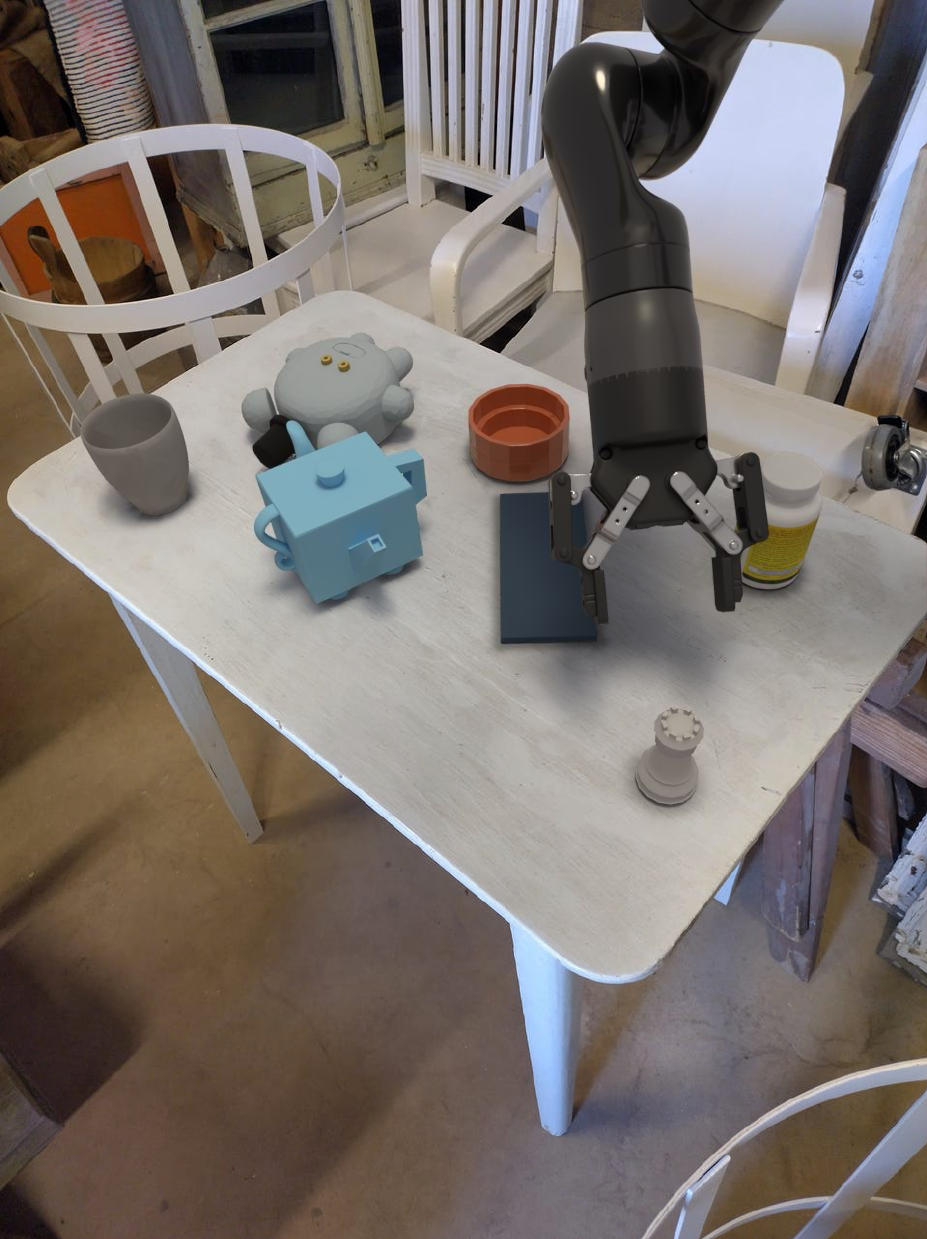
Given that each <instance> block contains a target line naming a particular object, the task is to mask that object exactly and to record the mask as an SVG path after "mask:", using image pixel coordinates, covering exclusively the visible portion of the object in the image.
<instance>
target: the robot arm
mask: <svg viewBox="0 0 927 1239" xmlns="http://www.w3.org/2000/svg"><path fill="white" fill-rule="evenodd" d="M784 1H785V0H640V5H641V11H642V15H643V18H644V21H645V24H646V25H647V27H648V30H649V31H650V33H651V35H652V36H653V37H654V38H655V40H656V41H657V42H658V43H659V44H660V45H661V46H662V47H663V49H662V50H660V52H659V53H655V52H650V51H645V50H640V49H635V48H630V47H626V46H621V45H616V44H610V43H608V42H607V43H606V42H601V41H590V42H589V41H587V42H582V43H579V44H576V45H574V46H572V47H571V48H569V49H568V50H567V51H566V52H565V53H564V54H562V55H561V57H559V59H558V60H557V61H556V63H555V65H554V66H553V68H552V69H551V72H550V74H549V76H548V79H547V82H546V84H545V87H544V91H543V95H542V102H541V110H540V128H541V138H542V143H543V150H544V153H545V157H546V160H547V164H548V167H549V171H550V173H551V176H552V178H553V182H554V184H555V188H556V190H557V193H558V196H559V199H560V201H561V204H562V207H563V209H564V211H565V215H566V219H567V221H568V222H567V223H568V224H569V227H570V230H571V233H572V235H573V237H574V241H575V243H576V245H577V248H578V252H579V259H580V273H581V274H580V275H581V276H580V277H581V288H582V298H583V307H584V308H583V309H584V310H583V311H584V335H583V336H584V337H583V338H584V339H583V352H584V368H583V373H584V380H585V381H586V387H587V399H588V409H589V421H590V422H589V423H590V430H591V431H590V433H591V446H592V457H593V460H592V467H591V469H590V471H589V472H588V473H568V472H567V471H564V470H560V471H557V472H556V473H553V475H551V476H550V477H549V479H548V482H547V484H548V492H549V519H550V551H551V557H552V558H553V559H554V560H555V561H558V562H562V563H566V564H570V565H573V566H575V567H576V568H577V569H578V571H579V574H580V584H581V594H582V606H583V610H584V612H585V614H586V615H587V616H588V617H593V621H594V623H595V624H596V626H602V625H603V626H604V625H608V624H609V610H608V609H609V608H608V598H607V584H606V575H605V569H604V568H601V563H602V561H603V560H604V559H605V557H606V555H607V553H608V552H609V550H610V549H611V548H612V546H613V544H614V543H615V542H616V541H617V539H618V538H619V537H620V535H621V533H622V532H623V531H624V529H627V530H630V531H639V530H648V529H650V528H653V527H654V528H655V527H656V526H657V527H662V528H664V527H665V528H666V527H667V528H668V527H677V526H678V527H679V526H684V524H686V523H687V525H689V526H690V527H691V529H692V530H693V531H694V532H696V533H698V534H699V535H700V536H701V537H702V538H703V539H704V541H705V542H706V543H707V544H708V545H709V546H710V547H711V548H712V550H713V551H714V552H715V553H714V554H715V556H712V557H711V558H710V559H711V560H710V561H711V569H712V570H711V571H712V572H711V573H712V587H713V599H714V608H715V610H716V612H720V613H732V612H735V611H736V603H741V601H742V600H743V599H742V598H743V595H744V590H743V589H744V587H743V582H742V573H741V554H742V552H743V551H744V550H745V549H746V548H748V547H750V546H752V545H754V544H756V543H758V542H764V541H765V540H767V538H768V536H769V527H768V520H767V512H766V504H765V497H764V489H763V481H762V473H761V460H760V457H759V455H758V454H757V453H756V452H753V451H749V452H744V453H740V454H738V455H736V456H734V457H727V458H722V459H715V458H714V457H713V455H712V453H711V450H710V448H709V432H708V418H707V405H706V394H705V393H706V392H705V376H704V364H703V352H702V351H703V350H702V338H701V328H700V323H699V318H698V314H697V309H696V304H695V297H694V296H695V295H694V287H693V286H694V285H693V274H692V272H693V271H692V260H691V259H692V258H691V246H690V236H689V227H688V222H687V218H686V216H685V214H684V213H683V212H682V210H681V209H680V208H679V207H678V206H676V205H675V204H674V203H672V202H670V201H668V200H666V199H664V198H663V197H660V196H658V195H656V194H654V193H652V192H651V191H650V190H648V189H647V188H646V187H645V186H644V184H642V183H641V181H647V182H650V181H658V180H661V179H664V178H666V177H668V176H670V175H672V174H673V173H675V172H676V171H678V170H679V169H680V168H682V167H683V166H684V165H685V164H686V163H688V161H690V160H691V159H692V157H693V156H694V155H695V154H696V153H697V151H698V150H699V148H700V147H701V146H702V144H703V142H704V140H705V139H706V137H707V135H708V132H709V131H710V128H711V126H712V124H713V121H714V120H715V118H716V115H717V113H718V111H719V109H720V107H721V104H722V103H723V100H724V99H725V96H726V94H727V92H728V90H729V88H730V86H731V84H732V82H733V81H734V78H735V77H736V76H735V75H736V73H737V71H738V70H739V67H740V65H741V63H742V61H743V58H744V57H745V54H746V52H747V50H748V48H749V46H750V44H751V43H752V42H753V40H754V39H755V38H756V37H757V36H758V34H759V33H760V32H761V31H762V29H763V28H764V27H765V26H766V24H767V23H768V22H769V20H770V19H771V18H772V17H773V16H774V15H775V13H776V12H777V11H778V9H779V8H780V7H781V5H782V4H783V3H784ZM717 476H718V477H719V478H720V479H721V480H722V482H723V485H724V487H725V488H726V489H729V490H732V497H733V505H734V512H735V513H734V514H735V520H736V522H737V528H738V530H736V531H734V530H733V529H732V528H731V526H730V525H729V524H728V523H727V522H726V521H725V518H724V516H723V515H722V514H721V513H720V511H719V510H718V509H717V508H716V507H715V506H714V504H712V502H711V501H710V500H709V499H708V498H707V497H706V495H707V494H708V492H709V490H710V488H711V487H712V485H713V483H714V482H715V480H716V479H717ZM586 489H589V490H590V492H591V493H592V495H593V496H594V497H595V498H596V499H597V501H599V503H600V504H601V505H602V506H603V507H604V508H605V509H604V511H603V512H602V515H601V516H600V518H599V520H598V521H597V523H596V524H595V526H594V527H593V529H592V531H591V533H590V535H589V537H588V538H587V542H586V544H585V545H584V547H583V549H582V548H578V547H574V546H573V534H572V506H573V505H576V504H578V503H579V502H580V501H581V498H582V494H583V493H584V491H585V490H586Z"/></svg>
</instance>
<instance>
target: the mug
mask: <svg viewBox="0 0 927 1239" xmlns="http://www.w3.org/2000/svg"><path fill="white" fill-rule="evenodd" d="M79 435H80V438H81V440H82V444H83V446H84V448H85V450H86V452H87V453H88V455H89V457H90V459H91V460H92V461H93V463H94V465H95V466H96V468H97V469H98V471H99V472H100V474H101V475H102V476H103V478H104V479H105V480H106V481H107V482H108V484H109V485H110V486H111V487H112V488H113V489H114V490H115V491H116V493H118V494H119V495H120V496H121V497H122V498H123V499H126V500H127V501H128V502H129V503H130V504H132V505H133V506H135V507H136V508H137V510H139V511H140V512H141V513H143V514H146V515H150V516H159V515H164V514H168V513H171V512H173V511H175V510H177V509H178V508H180V507H181V506H182V505H183V504H184V503H185V501H186V500H187V498H188V496H189V487H188V486H189V478H190V460H189V452H188V447H187V444H186V443H187V442H186V440H185V436H184V432H183V429H182V426H181V424H180V421H179V418H178V416H177V412H176V411H175V409H174V407H173V406H172V404H171V403H170V401H168V400H167V399H165V398H164V397H162V396H159V395H156V394H152V393H131V394H125V395H121V396H118V397H115V398H112V399H109V400H107V401H106V402H104V403H101V404H99V405H98V406H96V408H94V409H93V410H92V411H90V413H88V415H87V416H86V417H85V418H84V420H83V421H82V423H81V426H80V430H79Z"/></svg>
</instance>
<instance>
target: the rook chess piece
mask: <svg viewBox="0 0 927 1239" xmlns="http://www.w3.org/2000/svg"><path fill="white" fill-rule="evenodd" d="M653 725H654V726H653V731H654V743H655V744H653V745H652V746H650V747H649V748H647V749H646V750H644V752H643V753H642V755H641V756H640V758H639V760H638V764H637V765H636V767H635V768H636V769H635V780H636V782H637V785H638V788H639V789H640V790H641V791H642V793H644V795H645V796H646V797H647V798H649V799H650V800H653V801H654V802H656V803H659V804H664V805H676V804H680V803H684V802H686V801H687V800H688V799H689V798H690V797H692V796H693V795H694V794H695V791H696V790H697V787H698V781H699V767H698V765H697V762H696V760H695V757H693V755H692V754H694V753H695V751H696V749H697V747H698V745H700V744H701V743H702V742H701V741H702V740H703V739H704V737H705V736H704V735H705V732H704V731H705V727H704V725H703V722H702V721H701V720H700V717H699V714H694V713H693V709H692V708H690V707H689V706H685V707H684V708H683V709H682V708H679V705H678V704H677V705H672V706H670V709H666V710H664V711H662V712H661V713H660V714H658V715H657V717H656V719H655V720H654V724H653Z"/></svg>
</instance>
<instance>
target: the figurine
mask: <svg viewBox="0 0 927 1239" xmlns="http://www.w3.org/2000/svg"><path fill="white" fill-rule="evenodd" d="M413 366H414V359H413V356H412V354H411V352H410V351H409V350H408V349H407V348H405V347H401V346H395V347H392V348H389V349H387V350H386V351H384V350H383V349H382V348H381V347H379V346H378V345H377V344H376V342H375V340H374V338H373V337H372V336H371V335H370V334H368V333H366V332H356V333H354V334H352V335H351V336H350V337H340V336H338V337H332V338H327V339H323V340H319V341H317V342H315V343H311V344H309V345H307V346H306V347H304V348H303V347H298V348H297V347H296V348H294V349H292V350H291V351H290V352H289V353H288V354H287V356H286V357H285V363H284V365H283V366H282V367H281V369H280V371H279V372H278V374H277V376H276V379H275V382H274V386H273V397H274V400H273V397H272V394H271V392H270V390H269V389H268V388H267V387H261V388H258V389H253V390H252V391H250V392H249V393H248V394H246V396H244V399H243V400H242V402H241V407H240V408H241V409H240V410H241V414H242V417H243V420H244V421H245V423H246V425H247V426H248V427H249V428H250V429H252V430H254V431H257V432H262V433H263V432H264V433H263V435H261V436H260V437H259V438H258V439H257V440H256V441H254V443H253V444H252V447H251V448H252V449H251V450H252V452H253V455H254V456H255V457H256V459H257V460H258V461H259V463H261V465H263V466H264V467H266V468H267V469H268V470H270V469H272V468H274V467H277V466H279V465H282V464H284V463H286V461H288V460H289V459H290V458H291V457H292V456H293V455H296V453H295V449H294V445H293V442H292V439H291V437H290V435H289V433H288V430H287V426H286V424H287V422H288V421H295V422H297V423H298V424H299V425H300V426H301V427H302V428H303V430H304V432H305V434H306V435H307V437H308V439H309V441H310V443H311V444H312V446H313V448H314V449H315V451H317V450H319V449H322V448H324V447H327V446H329V445H332V444H334V443H337V442H339V441H342V440H345V439H347V438H350V437H352V436H355V435H357V434H360V433H363V432H367V433H368V435H369V436H370V437H371V438H372V439H373V441H374V442H375V443H376V444H377V445H379V444H380V443H382V442H384V440H386V439H387V438H388V436H390V435H391V434H392V433H393V431H394V430H395V429H396V427H397V426H398V424H399V423H400V422H404V421H406V420H408V419H409V418H410V417H411V416H412V414H413V412H414V410H415V403H414V402H415V401H414V400H415V399H414V398H413V395H412V394H411V393H410V392H409V391H407V390H406V389H405V388H404V387H401V382H402V381H403V380H404V379H405V378H406V377H407V376H408V375H409V373H410V372H411V371H412V369H413ZM274 402H275V403H274ZM275 405H276V406H275ZM277 412H278V413H277Z"/></svg>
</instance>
